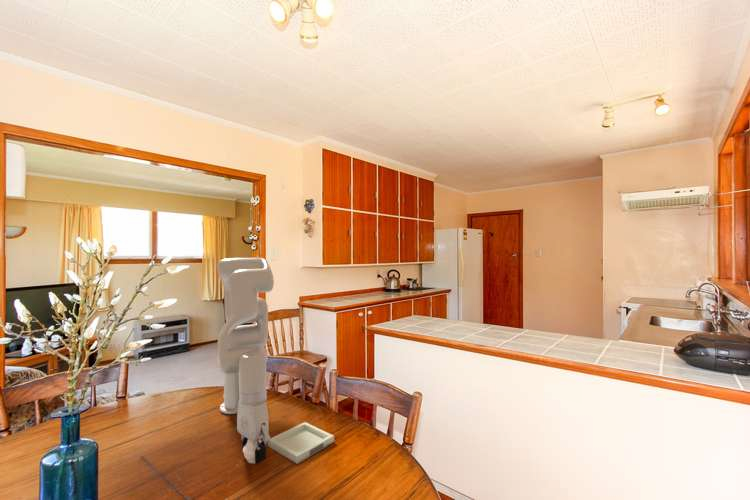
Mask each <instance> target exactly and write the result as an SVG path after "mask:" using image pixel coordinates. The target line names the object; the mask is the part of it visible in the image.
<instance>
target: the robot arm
mask: <svg viewBox="0 0 750 500" xmlns="http://www.w3.org/2000/svg"><path fill="white" fill-rule="evenodd" d="M216 266H217V267H216V268H217V275H218V277H219V279H220V281H221V283H222V286H223V290H224V291H223V293H224V298H223V299H224V319H225V323H224V325H223V326H222V327H221V330H220V332H219V335H218V338H217V362H218V363H217V364H218V368H219V371H220V372H221V373H222V374H223V394H222V397H223V403H221V404H220V406H219V411H220V412H221V413H223V414H226V415H236V414H237V415H236V431H237V433H239V434H240V439H241V448H242V450H241V453H242V455H243V456H244V453H243V448H244V446H245V445H246V444H247V441H248V439H249V440H251V441H255V444H256V449H255V463H254V464H260V463H262V462H263V461H266V459H267V446H268V442H269V441H270V440H271V438H272V437H271V435H270V434H269V430H270V428H269V427H270V425H269V424H270V423H269V412H268V403H267V394H268V393H267V362H268V358H269V357H268V350H267V348H266V347H265V346H266V345H267V344H268V339H269V309H268V303H267V301H266V299H264V298H262V297H258V294H260V293H261V294H262V293H270V292H272V290H273V288H274V285H275V284H274V283H275V282H274V281H275V279H274V275H273V272H272V268H271V267H270V265H269V262H268V261H267V260H266V258H263V257H229V258H228V257H227V258H224V259H220V260H219V261H218V262H217V265H216ZM249 323H251V324H249ZM253 323H254V324H253ZM259 439H260V440H261V441H262V442H261V443H260V444H259Z"/></svg>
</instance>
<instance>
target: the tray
mask: <svg viewBox="0 0 750 500" xmlns="http://www.w3.org/2000/svg"><path fill="white" fill-rule="evenodd" d="M270 438H271V440H270V441H269V442H268V444H267V446H268V447H269V448H270V449H272V450H274V451H276V452H277V453H278V454H280V455H282V456H284V457H285V458H287V459H288V460H290V461H292V462H293V463H295V464H299V463H301V462H303V461H305V460H306V459H308V458H310V457H312V456H313V455H315V454H317V453H319V452H320V451H321V449H322V450H323V449H325V448H327V447H329V446H331V445H332V444H333V443H335V435H333V434H331V433H329V432H327V431H325V430H323V429H320V428H318V427H317V426H314V425H312V424H310V423H308V422H307V421H306V422H305V421H304V422H302V423H300V424H298V425H296V426H293V427H291V428H290V429H288V430H285V431H283V432H281V433H279V434H277V435H275V436H273V437H270ZM328 445H329V446H328Z"/></svg>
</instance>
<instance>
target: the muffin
mask: <svg viewBox="0 0 750 500" xmlns="http://www.w3.org/2000/svg"><path fill="white" fill-rule="evenodd" d="M261 442H262V439H259V444H260V443H261ZM255 449H256V444H255V441H251V440H249V439H248V441H247V444H246V445H245V446H244V448H243V453H244V455H243V456H244V458H245V460H247V462H248V463H249V464H256V463H255Z"/></svg>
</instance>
